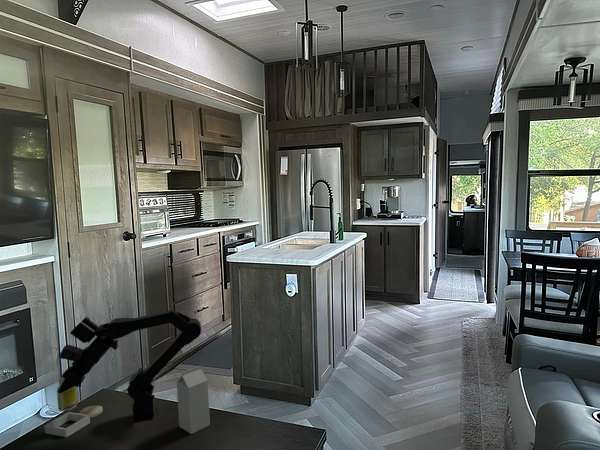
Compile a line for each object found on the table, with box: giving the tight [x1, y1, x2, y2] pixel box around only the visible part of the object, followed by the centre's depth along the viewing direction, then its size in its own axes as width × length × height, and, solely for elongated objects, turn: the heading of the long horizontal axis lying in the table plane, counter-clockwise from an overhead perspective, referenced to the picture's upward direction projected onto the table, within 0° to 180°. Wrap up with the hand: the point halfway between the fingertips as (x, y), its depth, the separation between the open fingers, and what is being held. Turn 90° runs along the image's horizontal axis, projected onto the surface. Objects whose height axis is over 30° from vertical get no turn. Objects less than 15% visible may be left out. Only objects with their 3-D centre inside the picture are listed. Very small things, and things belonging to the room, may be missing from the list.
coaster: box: [78, 405, 104, 419], centre depth 146 cm, size 8×8×1 cm
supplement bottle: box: [56, 377, 78, 412], centre depth 137 cm, size 5×5×10 cm
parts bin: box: [44, 411, 91, 438], centre depth 137 cm, size 9×9×2 cm
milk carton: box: [176, 365, 211, 435], centre depth 134 cm, size 7×7×19 cm
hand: (61, 388), depth 136 cm, fingers closed on supplement bottle, 5 cm apart
